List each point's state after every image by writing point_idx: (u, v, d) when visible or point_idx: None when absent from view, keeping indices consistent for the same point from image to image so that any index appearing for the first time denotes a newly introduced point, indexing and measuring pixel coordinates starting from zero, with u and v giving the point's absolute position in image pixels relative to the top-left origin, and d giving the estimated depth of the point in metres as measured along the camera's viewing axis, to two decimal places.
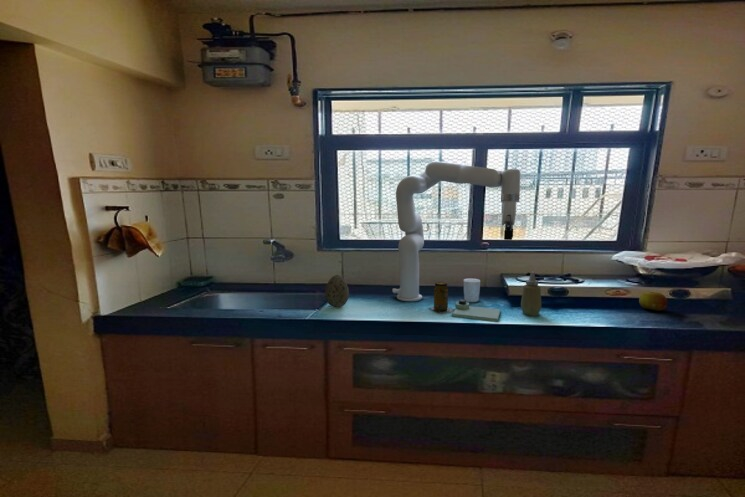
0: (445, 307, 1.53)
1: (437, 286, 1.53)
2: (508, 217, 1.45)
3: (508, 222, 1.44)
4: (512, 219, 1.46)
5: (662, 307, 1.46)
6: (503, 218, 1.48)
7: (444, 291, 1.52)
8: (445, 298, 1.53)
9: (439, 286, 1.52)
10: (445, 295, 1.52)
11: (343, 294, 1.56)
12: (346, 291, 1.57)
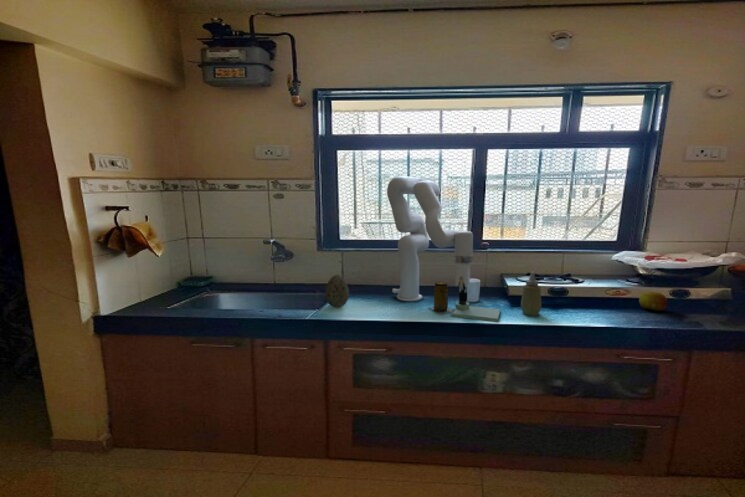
0: (445, 307, 1.53)
1: (437, 286, 1.53)
2: (461, 283, 1.48)
3: (461, 290, 1.49)
4: (465, 285, 1.49)
5: (662, 307, 1.46)
6: (456, 280, 1.49)
7: (444, 291, 1.52)
8: (445, 298, 1.53)
9: (439, 286, 1.52)
10: (445, 295, 1.52)
11: (343, 294, 1.56)
12: (346, 291, 1.57)
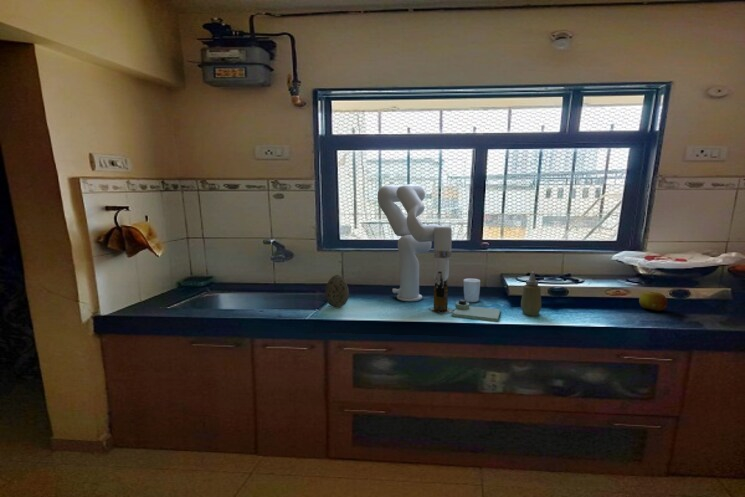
0: (445, 307, 1.53)
1: None
2: (438, 276, 1.47)
3: (438, 282, 1.46)
4: (443, 278, 1.48)
5: (662, 307, 1.46)
6: (434, 274, 1.49)
7: (444, 291, 1.51)
8: (445, 298, 1.52)
9: None
10: (445, 295, 1.52)
11: (343, 294, 1.56)
12: (346, 291, 1.57)
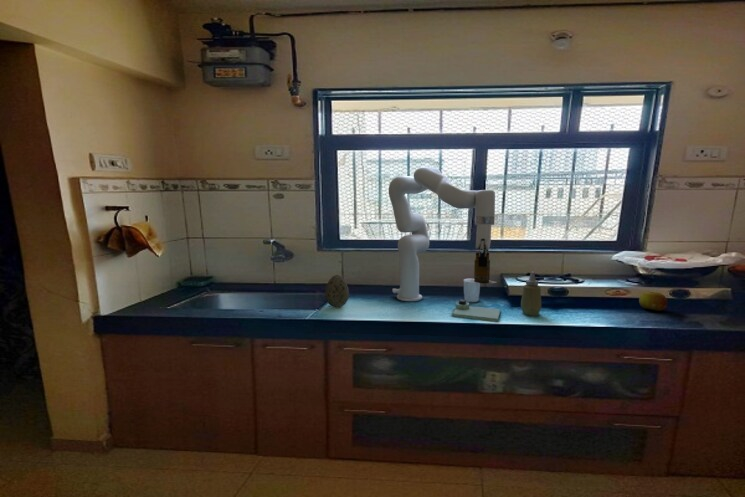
0: (487, 278, 1.42)
1: (478, 256, 1.41)
2: (482, 243, 1.37)
3: (481, 250, 1.36)
4: (486, 245, 1.37)
5: (662, 307, 1.46)
6: (477, 242, 1.39)
7: None
8: (487, 268, 1.41)
9: None
10: (487, 265, 1.41)
11: (343, 294, 1.56)
12: (346, 291, 1.57)
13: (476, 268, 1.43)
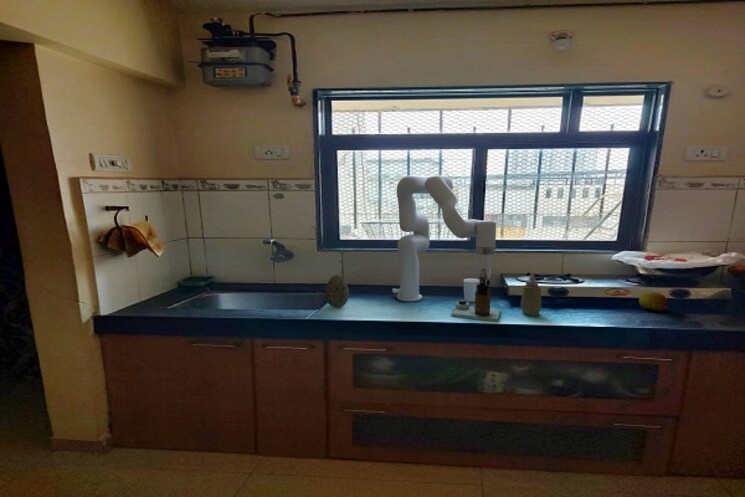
0: (488, 311, 1.43)
1: None
2: (482, 272, 1.38)
3: (482, 278, 1.36)
4: (487, 274, 1.39)
5: (662, 307, 1.46)
6: (477, 272, 1.40)
7: (487, 294, 1.42)
8: (488, 301, 1.43)
9: None
10: (488, 298, 1.43)
11: (343, 294, 1.56)
12: (346, 291, 1.57)
13: (477, 300, 1.44)
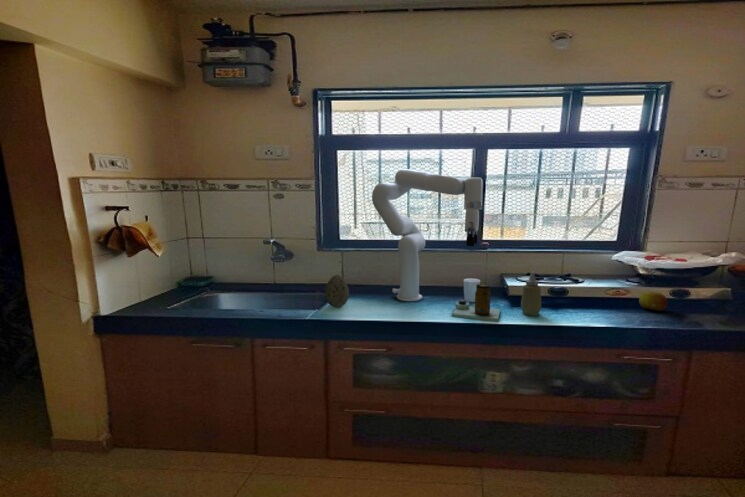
0: (488, 311, 1.43)
1: (479, 288, 1.43)
2: (470, 224, 1.49)
3: (469, 229, 1.47)
4: (474, 226, 1.50)
5: (662, 307, 1.46)
6: (465, 225, 1.51)
7: (487, 294, 1.42)
8: (488, 301, 1.43)
9: (481, 288, 1.42)
10: (488, 298, 1.43)
11: (343, 294, 1.56)
12: (346, 291, 1.57)
13: (477, 300, 1.44)
